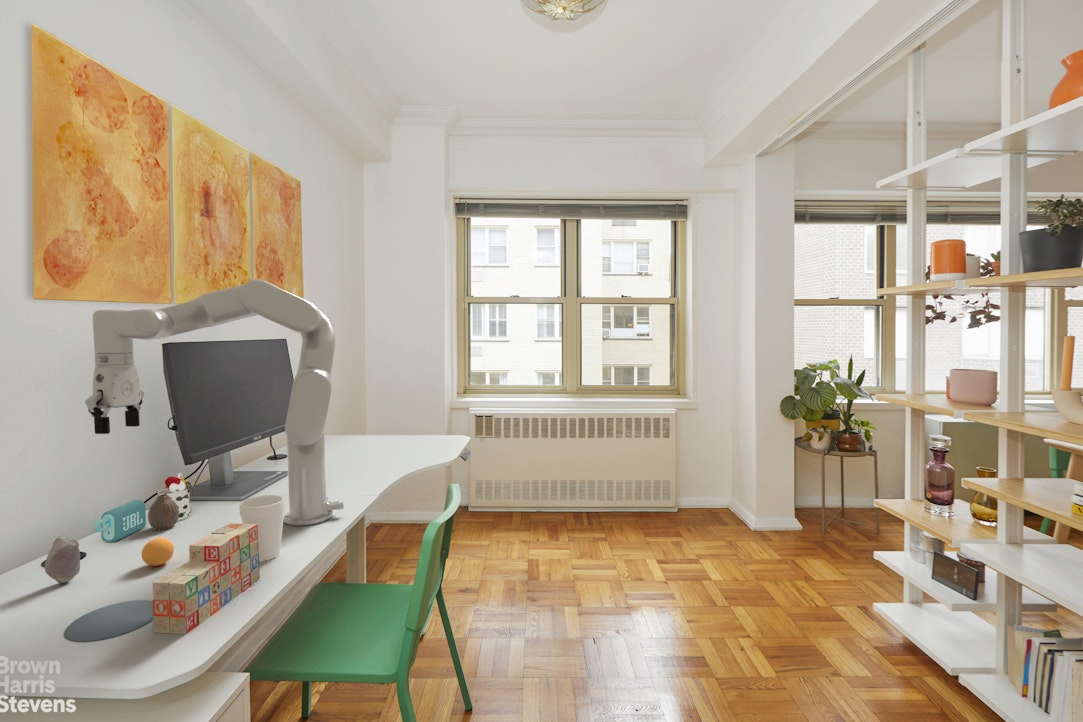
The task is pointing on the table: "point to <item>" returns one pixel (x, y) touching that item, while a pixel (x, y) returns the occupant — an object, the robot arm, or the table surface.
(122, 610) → the disc
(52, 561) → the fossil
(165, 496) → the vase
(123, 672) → the table surface
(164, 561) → the ball
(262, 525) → the foam cup
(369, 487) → the table surface
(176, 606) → the stack of blocks
